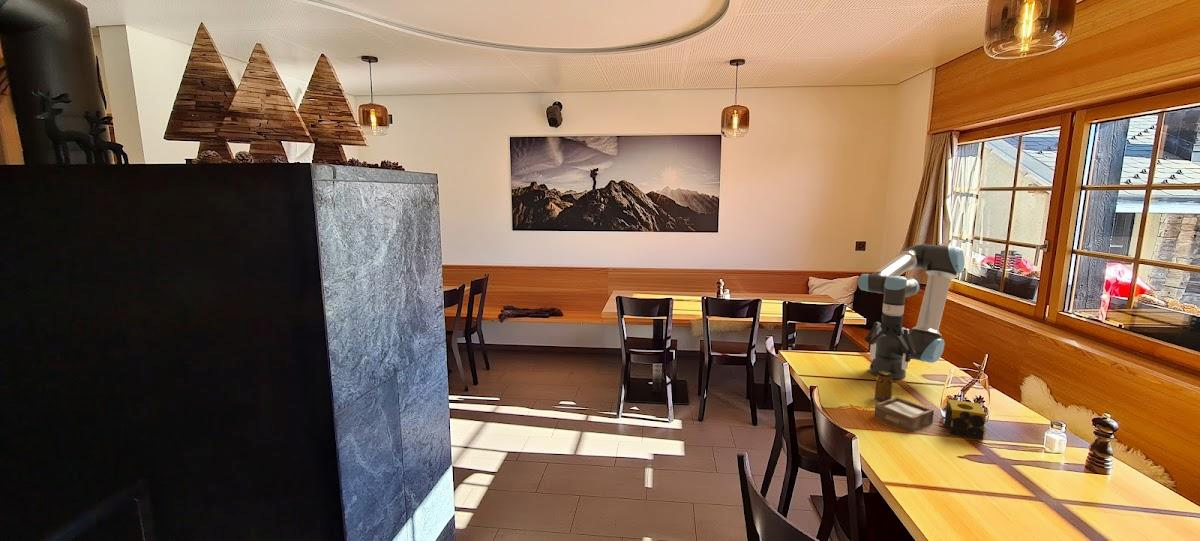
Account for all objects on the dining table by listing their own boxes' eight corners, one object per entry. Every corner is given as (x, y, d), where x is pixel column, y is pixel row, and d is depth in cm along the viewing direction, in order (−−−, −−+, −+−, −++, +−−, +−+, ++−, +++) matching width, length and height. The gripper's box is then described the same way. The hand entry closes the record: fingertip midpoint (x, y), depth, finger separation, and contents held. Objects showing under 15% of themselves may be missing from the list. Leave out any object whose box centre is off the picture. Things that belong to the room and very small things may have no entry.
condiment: (877, 395, 212) (879, 368, 210) (899, 401, 205) (901, 374, 203) (870, 399, 207) (872, 372, 205) (892, 406, 201) (894, 378, 199)
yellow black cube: (976, 428, 182) (979, 403, 180) (984, 440, 173) (987, 414, 171) (943, 423, 186) (946, 398, 185) (949, 435, 177) (952, 409, 175)
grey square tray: (895, 408, 198) (896, 396, 197) (932, 423, 186) (933, 410, 185) (873, 416, 191) (875, 404, 191) (910, 431, 179) (912, 418, 178)
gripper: (858, 308, 209) (854, 356, 212) (919, 322, 187) (913, 375, 191) (869, 306, 213) (865, 353, 216) (930, 319, 191) (924, 371, 194)
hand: (887, 363), depth 203 cm, fingers open, 13 cm apart
